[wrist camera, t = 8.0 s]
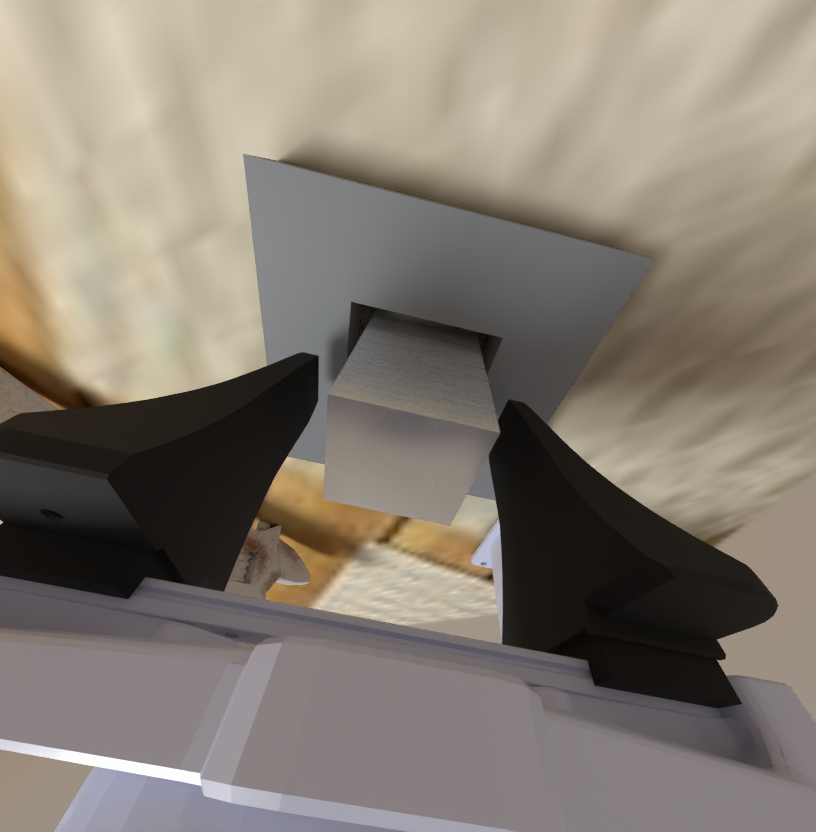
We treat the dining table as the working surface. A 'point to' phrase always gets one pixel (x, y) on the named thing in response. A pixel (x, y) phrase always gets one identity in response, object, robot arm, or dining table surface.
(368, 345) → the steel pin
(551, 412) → the socket block
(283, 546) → the wrench
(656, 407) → the dining table surface
